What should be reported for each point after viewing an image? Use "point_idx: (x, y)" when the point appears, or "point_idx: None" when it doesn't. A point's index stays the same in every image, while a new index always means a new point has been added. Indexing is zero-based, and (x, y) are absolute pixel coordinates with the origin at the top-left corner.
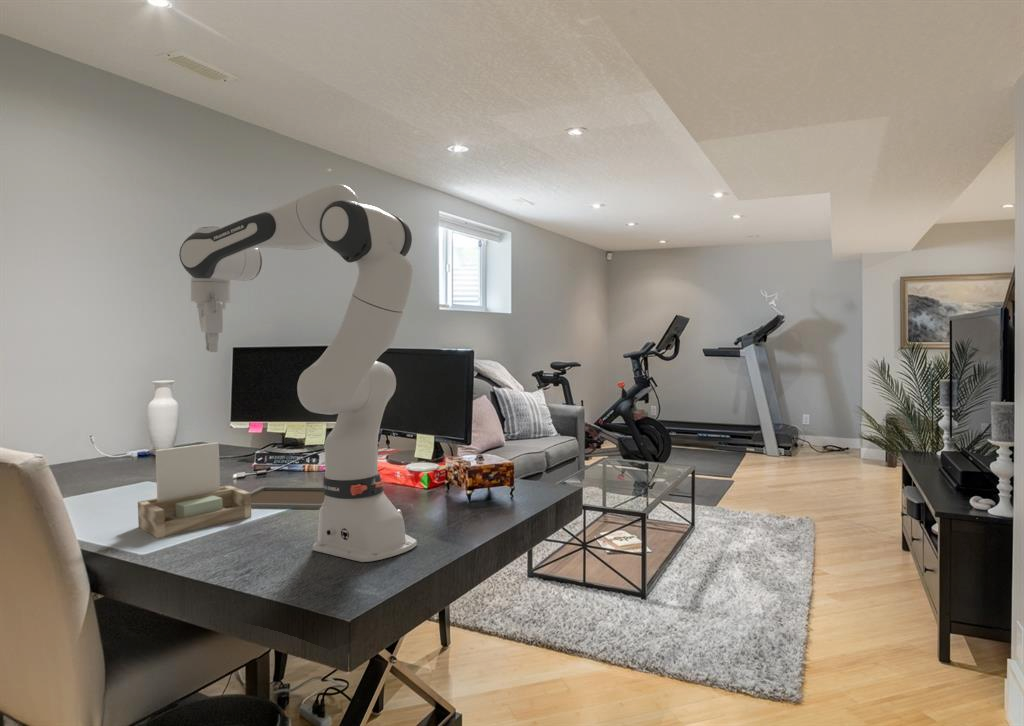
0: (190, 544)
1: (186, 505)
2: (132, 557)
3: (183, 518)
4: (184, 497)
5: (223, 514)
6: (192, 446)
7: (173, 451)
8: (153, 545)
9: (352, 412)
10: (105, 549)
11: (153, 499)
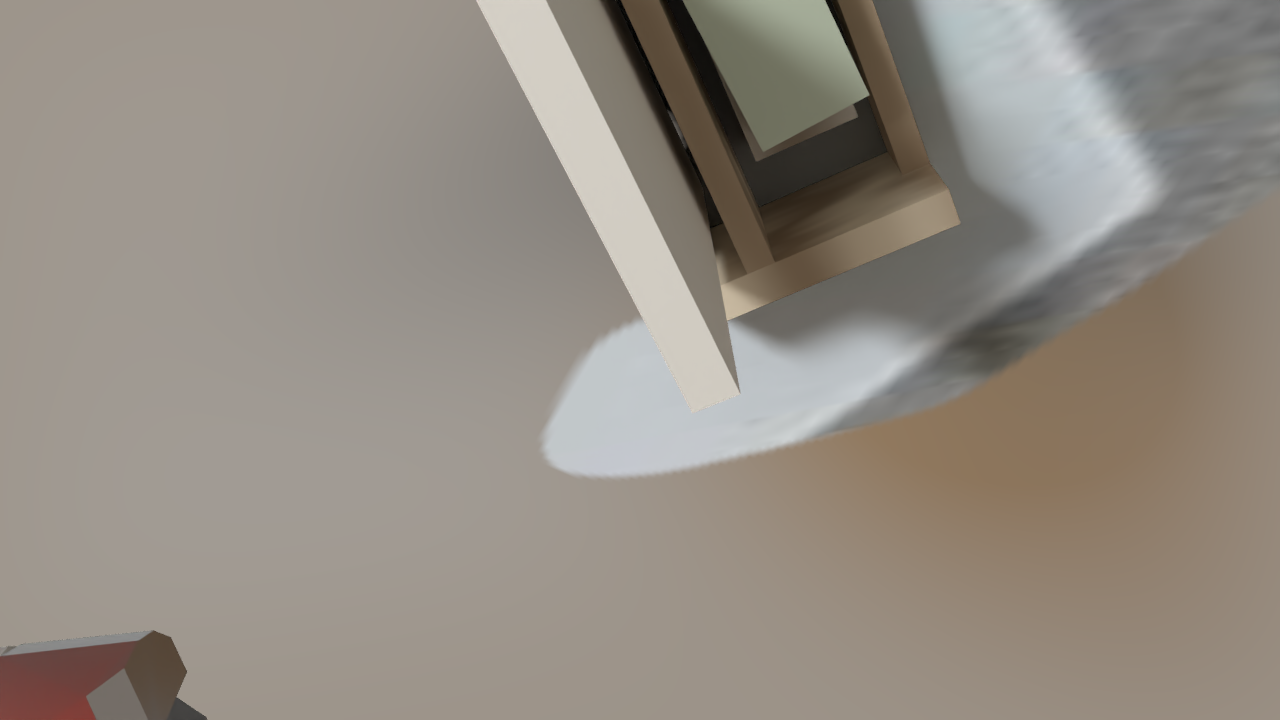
0: (1137, 3)
1: (849, 84)
2: (1175, 229)
3: (885, 79)
4: (682, 114)
5: None
6: (634, 176)
7: (693, 294)
8: (1041, 172)
9: None
10: (978, 350)
11: None
